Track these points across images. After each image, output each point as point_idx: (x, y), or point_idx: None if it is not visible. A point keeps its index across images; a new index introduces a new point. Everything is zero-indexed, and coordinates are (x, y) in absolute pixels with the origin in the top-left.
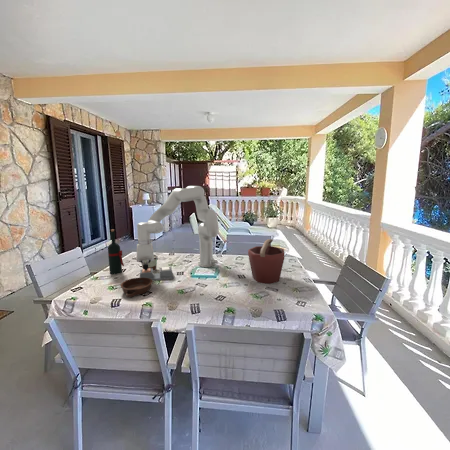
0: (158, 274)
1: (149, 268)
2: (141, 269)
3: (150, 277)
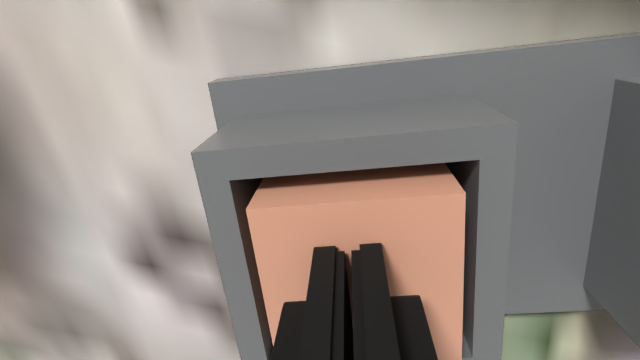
0: (579, 131)
1: (437, 204)
2: (216, 152)
3: None
